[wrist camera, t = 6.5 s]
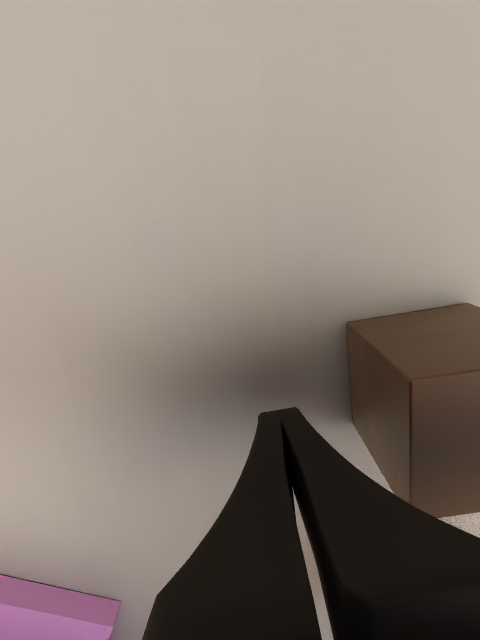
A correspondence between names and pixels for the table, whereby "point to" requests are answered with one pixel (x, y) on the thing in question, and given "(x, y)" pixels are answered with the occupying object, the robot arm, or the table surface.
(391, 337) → the walnut block
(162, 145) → the table surface
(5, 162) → the table surface
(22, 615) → the purple pedestal chair
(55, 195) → the table surface
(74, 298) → the table surface
